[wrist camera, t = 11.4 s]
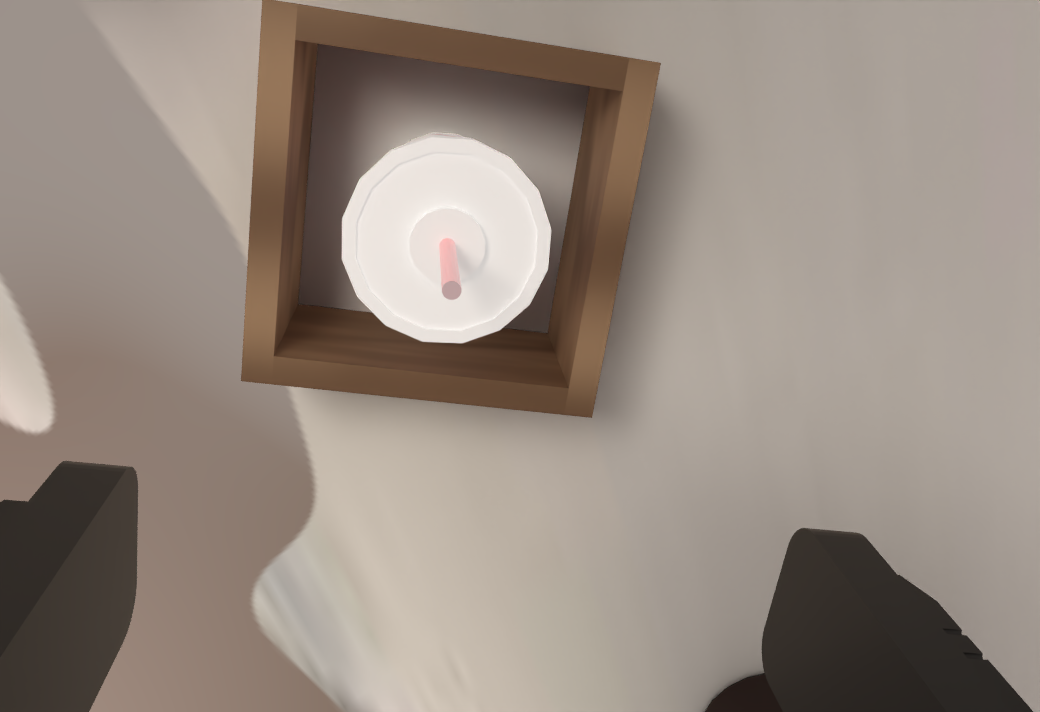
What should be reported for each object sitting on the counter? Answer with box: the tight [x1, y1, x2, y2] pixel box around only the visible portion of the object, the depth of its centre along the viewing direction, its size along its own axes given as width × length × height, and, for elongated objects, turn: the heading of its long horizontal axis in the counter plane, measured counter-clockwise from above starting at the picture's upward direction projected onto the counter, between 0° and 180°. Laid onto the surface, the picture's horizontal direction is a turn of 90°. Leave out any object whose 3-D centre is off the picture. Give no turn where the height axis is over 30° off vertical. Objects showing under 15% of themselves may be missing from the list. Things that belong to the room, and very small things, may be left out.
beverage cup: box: [342, 132, 551, 343], centre depth 28 cm, size 6×6×14 cm
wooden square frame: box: [241, 0, 661, 418], centre depth 32 cm, size 12×12×6 cm
